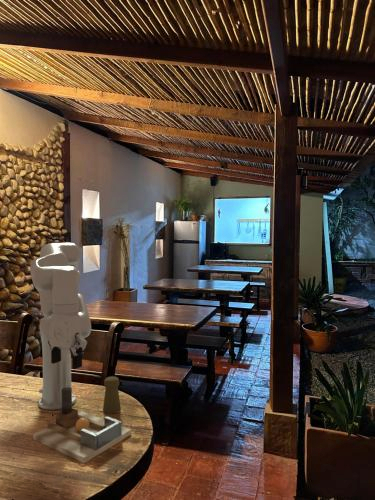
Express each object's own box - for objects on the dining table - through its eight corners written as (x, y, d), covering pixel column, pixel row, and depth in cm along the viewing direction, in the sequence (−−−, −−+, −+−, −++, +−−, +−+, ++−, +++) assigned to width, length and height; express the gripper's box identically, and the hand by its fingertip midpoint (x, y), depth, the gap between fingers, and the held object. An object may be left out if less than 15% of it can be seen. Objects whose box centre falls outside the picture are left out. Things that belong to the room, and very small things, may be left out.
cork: (116, 414, 130) (116, 381, 130) (99, 412, 131) (99, 380, 131) (123, 406, 136) (123, 375, 136) (107, 404, 137) (106, 374, 137)
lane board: (33, 438, 114) (32, 428, 114) (81, 415, 129) (81, 406, 129) (84, 463, 102) (83, 452, 102) (131, 434, 117) (130, 424, 117)
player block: (56, 426, 118) (55, 390, 118) (69, 419, 123) (68, 385, 122) (64, 429, 116) (64, 393, 116) (77, 423, 120) (77, 387, 120)
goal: (80, 444, 109) (80, 430, 108) (106, 429, 117) (106, 416, 117) (95, 450, 105) (95, 436, 105) (121, 435, 113) (121, 421, 113)
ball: (72, 432, 115) (72, 419, 115) (83, 427, 118) (83, 414, 118) (81, 436, 113) (81, 422, 113) (92, 430, 116) (92, 417, 116)
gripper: (37, 308, 120) (38, 363, 120) (74, 313, 110) (75, 374, 110) (57, 304, 126) (58, 357, 126) (95, 309, 116) (95, 366, 117)
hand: (66, 365), depth 118 cm, fingers open, 9 cm apart
